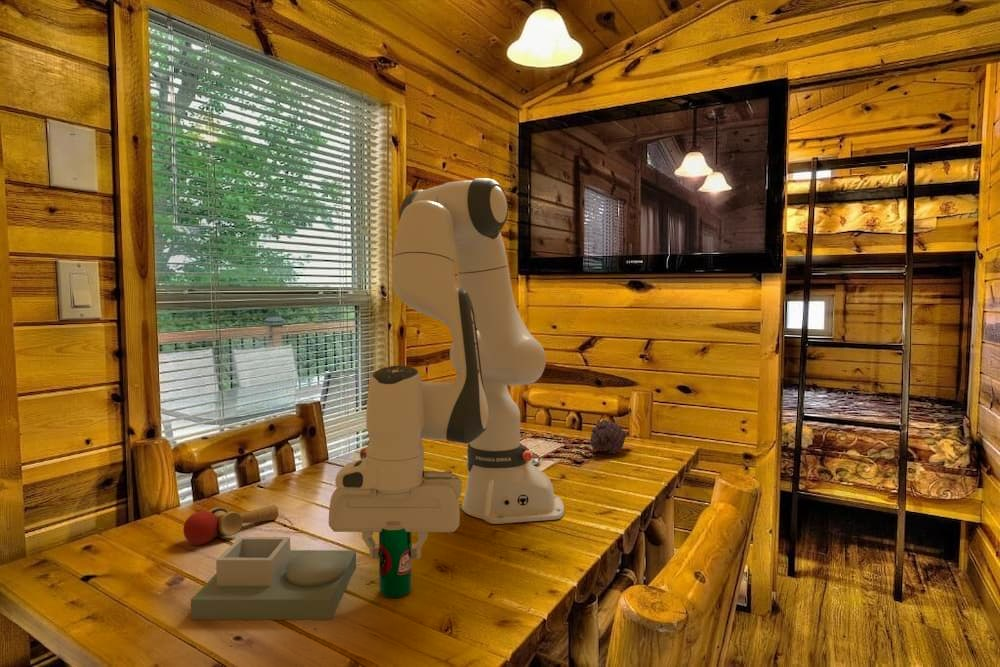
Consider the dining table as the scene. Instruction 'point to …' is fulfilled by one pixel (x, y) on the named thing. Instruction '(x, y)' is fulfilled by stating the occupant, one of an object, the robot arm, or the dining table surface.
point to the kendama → (222, 523)
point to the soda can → (395, 561)
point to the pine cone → (608, 437)
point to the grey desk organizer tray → (274, 582)
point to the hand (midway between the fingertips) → (395, 556)
